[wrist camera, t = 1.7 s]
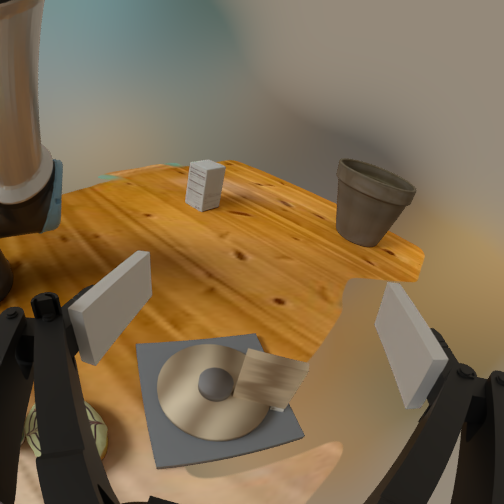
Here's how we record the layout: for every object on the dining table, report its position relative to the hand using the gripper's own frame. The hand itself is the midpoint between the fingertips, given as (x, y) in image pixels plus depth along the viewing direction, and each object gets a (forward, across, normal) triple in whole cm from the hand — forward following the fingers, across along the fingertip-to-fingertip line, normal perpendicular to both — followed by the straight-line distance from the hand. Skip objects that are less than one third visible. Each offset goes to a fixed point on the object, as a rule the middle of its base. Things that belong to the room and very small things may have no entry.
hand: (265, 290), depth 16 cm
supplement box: (+69, -22, -12) cm, 74 cm away
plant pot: (+77, +25, -17) cm, 83 cm away
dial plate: (+13, -5, -24) cm, 28 cm away
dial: (+13, -4, -23) cm, 27 cm away
